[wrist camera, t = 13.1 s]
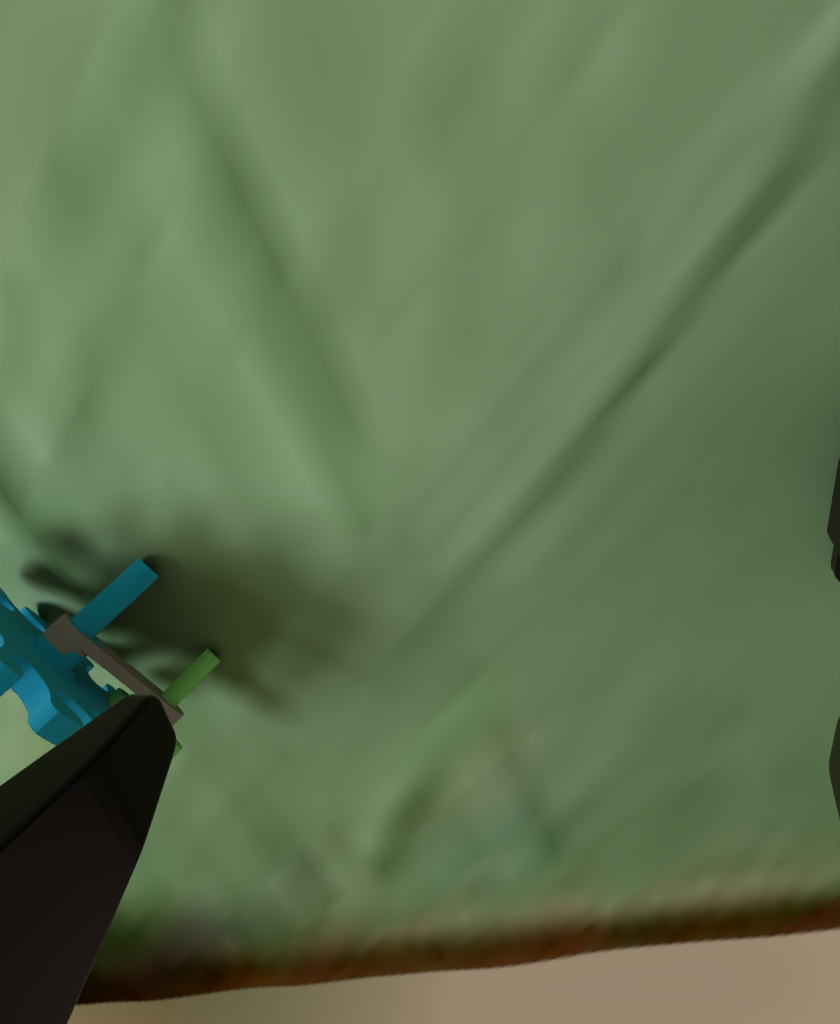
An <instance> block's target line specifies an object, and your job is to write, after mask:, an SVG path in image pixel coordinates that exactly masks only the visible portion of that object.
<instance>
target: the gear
mask: <svg viewBox="0 0 840 1024" xmlns="http://www.w3.org/2000/svg"><path fill="white" fill-rule="evenodd" d="M158 578H159V576H158V575H157V574H156V573H155V572H154V571H153V570H152V569H151V568H150V567H149V566H147V565H146V564H145V563H144V562H143V561H142V560H141V559H140V558H138V559H137V560H136V561H135V562H133V563H132V564H131V565H130V566H129V567H128V568H127V569H126V570H125V571H124V572H122V573H121V574H120V575H119V576H118V577H117V578H116V579H115V580H114V581H113V582H111V583H110V584H109V585H108V586H107V587H106V588H105V589H104V590H103V591H102V592H100V593H99V594H98V595H97V596H96V597H95V598H94V599H93V600H92V601H91V602H89V603H88V604H87V605H86V606H85V607H84V608H83V609H82V610H81V611H80V612H78V613H77V614H76V615H75V616H74V617H72V616H70V615H68V614H66V613H64V614H63V615H62V616H61V617H60V618H59V619H58V620H57V621H55V622H54V623H53V624H52V625H51V626H49V624H48V623H47V622H46V621H45V620H43V619H42V618H41V617H40V616H39V615H37V614H36V613H35V612H33V611H32V610H30V609H29V608H27V607H24V608H23V609H22V610H21V611H19V610H18V609H17V608H16V607H15V606H14V604H13V603H12V602H11V601H10V600H9V598H8V597H7V595H6V594H5V592H4V591H3V590H2V589H1V588H0V697H1V696H2V695H3V694H4V693H5V692H6V691H7V690H8V689H9V688H11V689H12V690H13V691H14V692H15V693H16V694H17V695H18V696H19V698H20V699H21V700H22V702H23V703H24V705H25V707H26V709H27V712H28V723H29V725H30V727H31V728H32V730H33V731H34V732H35V733H36V734H37V735H39V736H41V737H42V738H44V739H45V740H47V741H49V742H51V743H52V744H54V745H58V744H59V743H61V742H62V741H64V740H65V739H66V738H68V737H69V736H71V735H72V734H73V733H75V732H76V731H78V730H79V729H80V728H82V727H83V726H85V725H86V724H87V723H89V722H90V721H92V720H93V719H94V718H96V717H97V716H99V715H100V714H101V713H103V712H104V711H106V710H107V709H108V708H110V707H111V706H113V705H114V704H115V703H117V702H118V701H120V700H121V699H122V698H124V697H126V696H128V695H129V694H128V693H127V692H125V691H124V690H123V689H121V688H118V689H117V690H115V689H114V688H113V687H112V686H111V685H109V684H106V685H105V686H104V687H103V688H101V687H100V686H99V685H97V684H96V683H95V682H94V681H93V680H92V678H91V677H90V676H89V674H88V672H89V671H90V670H91V669H92V668H93V667H94V666H93V664H92V663H91V662H90V661H89V660H88V659H87V658H86V656H87V655H88V656H89V657H91V658H92V659H93V660H94V661H96V662H97V663H98V664H99V665H101V666H102V667H103V668H104V669H106V670H107V671H108V672H109V673H111V674H112V675H113V676H114V677H116V678H117V679H118V680H119V681H121V682H122V683H123V684H124V685H126V686H127V687H128V688H129V689H131V690H132V691H133V692H134V693H136V694H149V695H155V696H156V697H158V698H159V699H160V701H161V703H162V705H163V707H164V709H165V711H166V714H167V716H168V718H169V720H170V722H171V724H172V726H173V725H174V724H175V723H176V722H177V721H178V720H179V719H180V718H181V717H182V716H183V715H184V714H183V712H182V710H181V709H180V708H179V707H178V704H179V703H180V702H181V701H182V700H183V699H184V698H185V697H186V696H187V695H188V694H189V693H190V692H191V691H192V690H193V689H194V688H195V687H196V686H197V685H198V684H199V683H200V682H201V681H202V680H203V679H204V678H205V677H206V676H207V675H208V674H209V673H210V672H211V671H212V670H213V669H214V668H215V667H216V666H217V665H218V664H219V663H220V662H221V661H220V660H219V659H218V658H217V657H216V656H215V655H214V654H213V653H212V652H211V651H210V650H209V649H206V650H205V651H204V652H203V653H202V654H201V655H200V656H199V657H198V658H197V659H196V660H195V661H194V662H193V663H192V664H191V665H190V666H189V667H188V668H187V669H186V670H185V671H184V672H183V673H182V674H181V675H180V676H179V677H178V678H177V679H176V680H175V681H174V682H173V683H172V684H171V685H170V686H169V687H168V688H167V689H166V690H165V691H164V692H163V691H162V690H161V689H159V688H158V687H157V686H156V685H154V684H153V683H152V682H151V681H150V680H148V679H147V678H146V677H145V676H144V675H142V674H141V673H140V672H139V671H137V670H136V669H135V668H134V667H133V666H131V665H130V664H129V663H128V662H127V661H125V660H124V659H123V658H122V657H121V656H119V655H118V654H117V653H116V652H114V651H113V650H112V649H111V648H110V647H108V646H107V645H106V644H105V643H104V642H102V641H101V640H100V639H99V638H98V637H96V635H97V634H98V633H99V632H101V631H102V630H103V629H104V628H105V627H106V626H107V625H108V624H109V623H110V622H111V621H112V620H113V619H115V618H116V617H117V616H118V615H119V614H120V613H121V612H122V611H123V610H124V609H125V608H126V607H127V606H129V605H130V604H131V603H132V602H133V601H134V600H135V599H136V598H137V597H138V596H139V595H140V594H141V593H143V592H144V591H145V590H146V589H147V588H148V587H149V586H150V585H151V584H152V583H153V582H154V581H155V580H157V579H158ZM181 749H182V746H181V744H180V743H179V742H178V741H177V739H176V747H175V751H174V755H173V757H174V756H175V755H176V754H177V753H178V752H179V751H180V750H181Z"/></svg>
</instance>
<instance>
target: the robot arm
mask: <svg viewBox="0 0 840 1024" xmlns="http://www.w3.org/2000/svg"><path fill="white" fill-rule="evenodd" d="M827 533H828V535H829V537H830V539H831V541H832V542H833V544H834V548H833V554H832V559H831V569H832V571H833V573H834V575H835V577H836V578H837V579H838V581H840V459H839V463H838V469H837V474H836V480H835V486H834V492H833V498H832V504H831V510H830V516H829V521H828V527H827ZM175 747H176V735H175V731H174V729H173V727H172V724H171V722H170V720H169V718H168V716H167V714H166V711H165V709H164V707H163V705H162V703H161V701H160V699H159V698H158V697H156V696H155V695H149V694H131V695H128V696H126V697H124V698H122V699H121V700H120V701H118V702H117V703H115V704H114V705H113V706H111V707H110V708H108V709H107V710H106V711H104V712H103V713H101V714H100V715H99V716H97V717H96V718H94V719H93V720H92V721H90V722H89V723H87V724H86V725H85V726H83V727H82V728H80V729H79V730H78V731H76V732H75V733H73V734H72V735H71V736H69V737H68V738H66V739H65V740H64V741H62V742H61V743H59V744H58V745H57V746H55V747H54V748H53V749H51V750H50V751H48V752H47V753H46V754H44V755H43V756H41V757H40V758H39V759H37V760H36V761H34V762H33V763H32V764H30V765H29V766H27V767H26V768H25V769H23V770H22V771H20V772H19V773H18V774H16V775H15V776H13V777H12V778H11V779H9V780H8V781H6V782H5V783H4V784H2V785H1V786H0V1024H67V1023H68V1020H69V1018H70V1016H71V1014H72V1011H73V1009H74V1007H75V1004H76V1002H77V1000H78V997H79V995H80V993H81V990H82V988H83V986H84V984H85V981H86V979H87V977H88V974H89V972H90V970H91V967H92V965H93V963H94V961H95V958H96V956H97V954H98V951H99V949H100V947H101V944H102V942H103V940H104V938H105V935H106V933H107V931H108V928H109V926H110V924H111V921H112V919H113V917H114V914H115V912H116V910H117V908H118V905H119V903H120V901H121V898H122V896H123V894H124V891H125V889H126V887H127V885H128V882H129V880H130V878H131V875H132V873H133V871H134V868H135V866H136V864H137V861H138V859H139V856H140V854H141V851H142V849H143V846H144V843H145V840H146V837H147V835H148V832H149V829H150V826H151V822H152V819H153V816H154V813H155V810H156V807H157V804H158V801H159V798H160V795H161V792H162V789H163V785H164V782H165V779H166V776H167V773H168V770H169V767H170V764H171V761H172V758H173V755H174V751H175ZM829 772H830V779H831V783H832V788H833V792H834V796H835V801H836V805H837V809H838V814H839V818H840V717H839V719H838V722H837V726H836V730H835V735H834V740H833V745H832V749H831V754H830V759H829Z"/></svg>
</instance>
